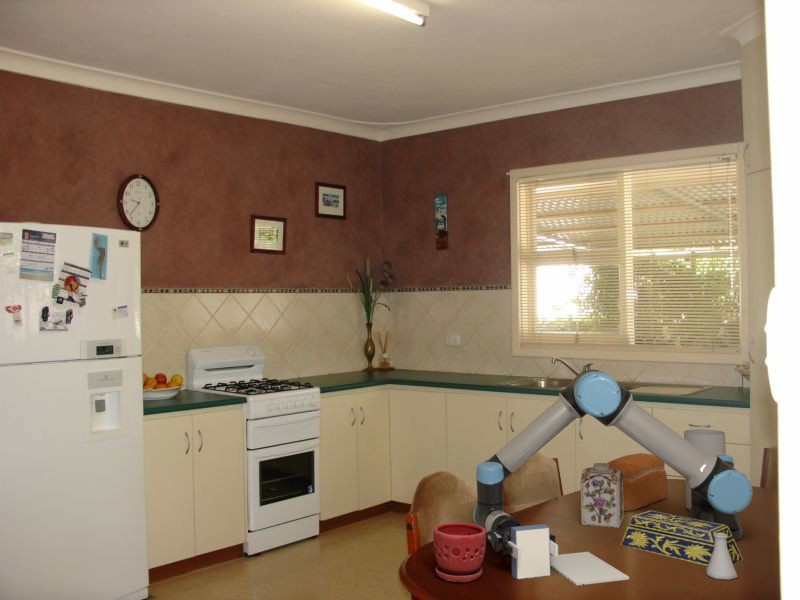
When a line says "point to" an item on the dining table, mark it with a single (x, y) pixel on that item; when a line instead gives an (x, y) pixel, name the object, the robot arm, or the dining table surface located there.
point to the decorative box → (677, 537)
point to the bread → (641, 479)
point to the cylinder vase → (704, 447)
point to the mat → (585, 568)
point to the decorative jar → (602, 496)
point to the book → (531, 551)
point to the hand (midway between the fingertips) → (538, 552)
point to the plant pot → (459, 551)
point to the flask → (720, 560)
